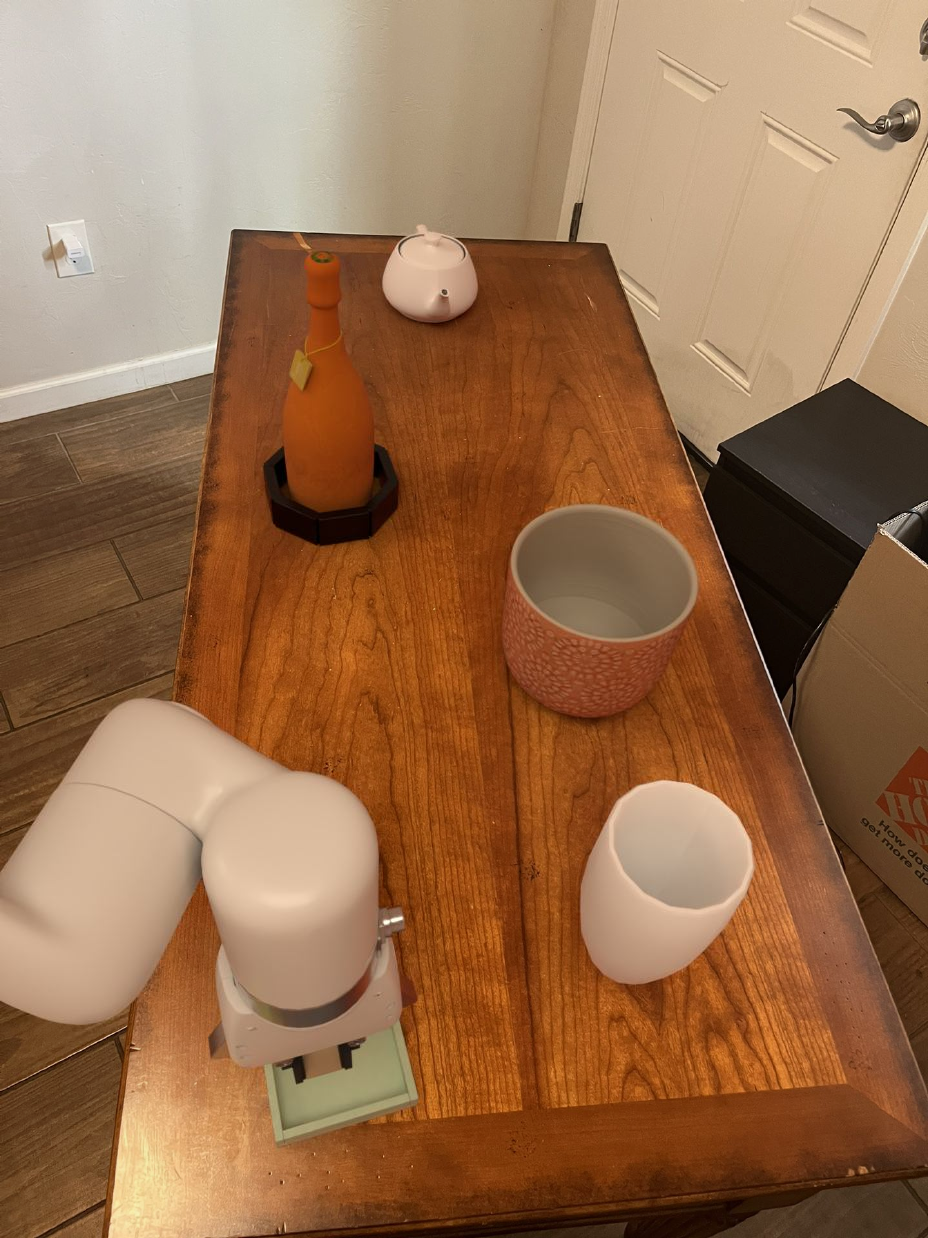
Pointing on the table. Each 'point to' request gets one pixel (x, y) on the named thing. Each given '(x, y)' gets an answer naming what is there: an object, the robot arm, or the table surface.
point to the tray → (343, 1090)
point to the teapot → (430, 277)
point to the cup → (662, 880)
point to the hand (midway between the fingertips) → (319, 1052)
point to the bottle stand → (337, 522)
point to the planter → (595, 607)
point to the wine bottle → (327, 406)
